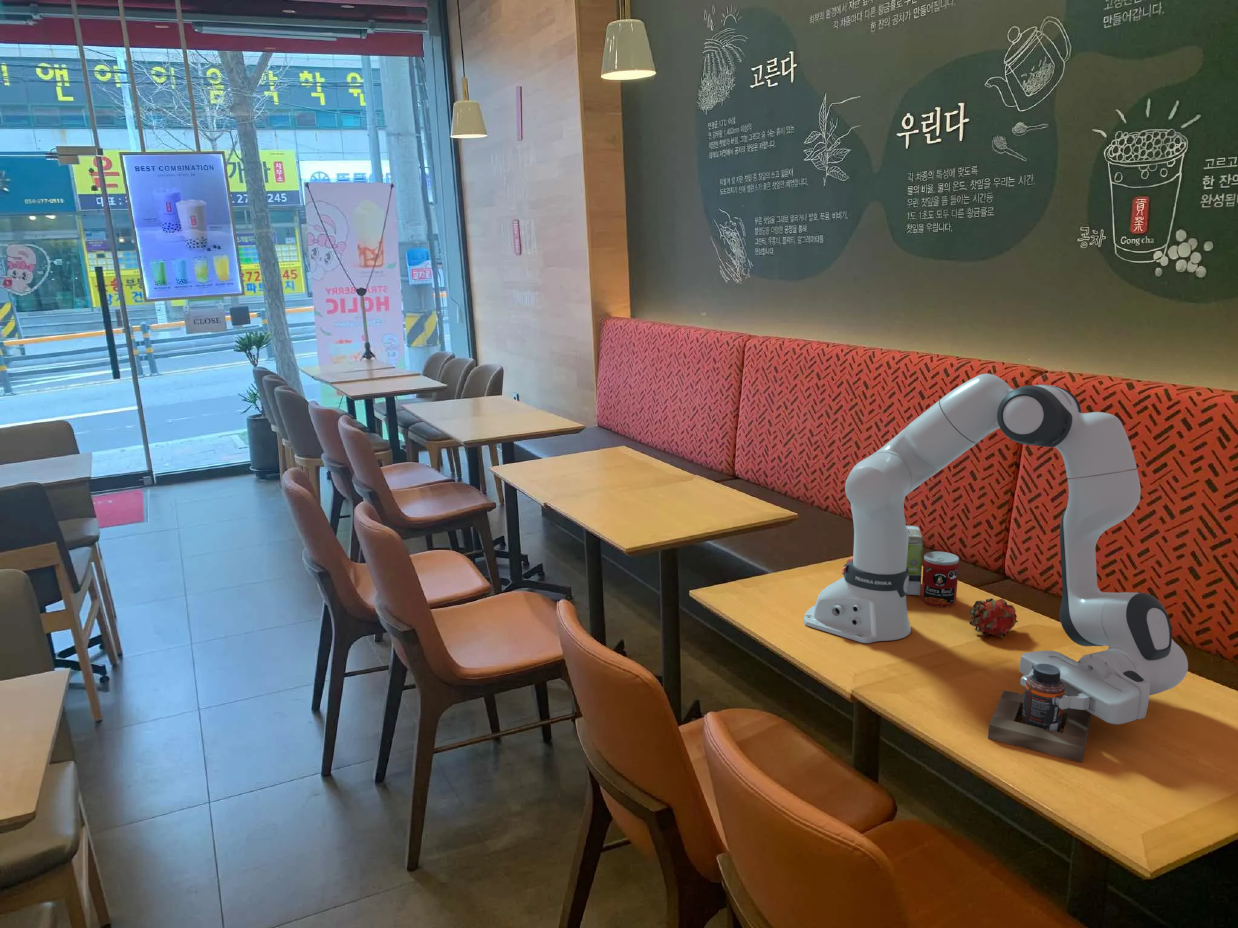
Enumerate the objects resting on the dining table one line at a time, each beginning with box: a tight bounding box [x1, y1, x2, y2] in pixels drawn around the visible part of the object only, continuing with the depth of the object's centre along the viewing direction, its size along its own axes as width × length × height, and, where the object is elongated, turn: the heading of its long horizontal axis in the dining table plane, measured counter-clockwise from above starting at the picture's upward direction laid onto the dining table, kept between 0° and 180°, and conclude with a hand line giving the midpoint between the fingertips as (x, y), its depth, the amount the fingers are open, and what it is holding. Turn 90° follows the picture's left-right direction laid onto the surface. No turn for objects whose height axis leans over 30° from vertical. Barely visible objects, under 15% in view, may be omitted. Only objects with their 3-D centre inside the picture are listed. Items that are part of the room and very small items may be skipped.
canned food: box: [920, 550, 960, 608], centre depth 202 cm, size 8×8×11 cm
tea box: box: [906, 525, 924, 596], centre depth 211 cm, size 15×10×15 cm
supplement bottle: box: [1021, 664, 1065, 733], centre depth 146 cm, size 6×6×11 cm
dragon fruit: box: [968, 597, 1019, 639], centre depth 185 cm, size 8×8×12 cm
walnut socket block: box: [987, 689, 1092, 764], centre depth 147 cm, size 14×14×2 cm
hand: (1040, 692), depth 145 cm, fingers closed on supplement bottle, 6 cm apart
